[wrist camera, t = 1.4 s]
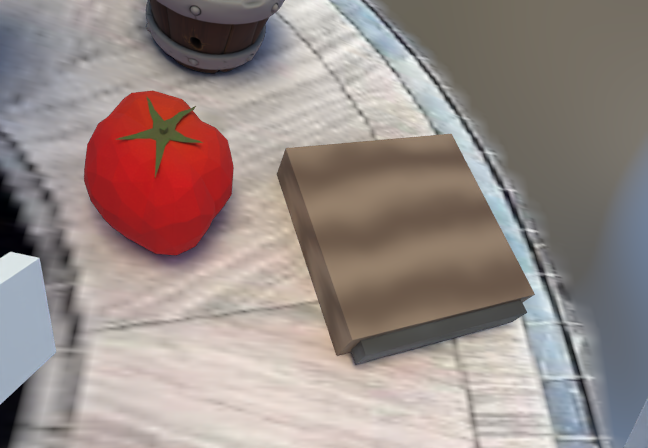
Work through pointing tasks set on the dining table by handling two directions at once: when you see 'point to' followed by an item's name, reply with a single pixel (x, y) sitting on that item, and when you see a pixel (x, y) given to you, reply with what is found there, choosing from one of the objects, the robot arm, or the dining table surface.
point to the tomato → (158, 172)
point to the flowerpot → (210, 30)
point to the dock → (399, 244)
